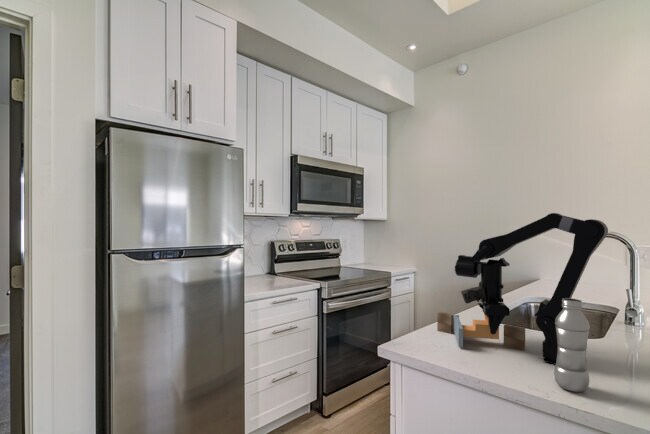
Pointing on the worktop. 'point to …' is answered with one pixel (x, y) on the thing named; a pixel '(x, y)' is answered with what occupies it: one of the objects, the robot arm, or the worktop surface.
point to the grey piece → (458, 330)
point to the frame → (512, 334)
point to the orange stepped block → (480, 329)
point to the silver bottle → (572, 347)
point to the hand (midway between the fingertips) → (491, 331)
